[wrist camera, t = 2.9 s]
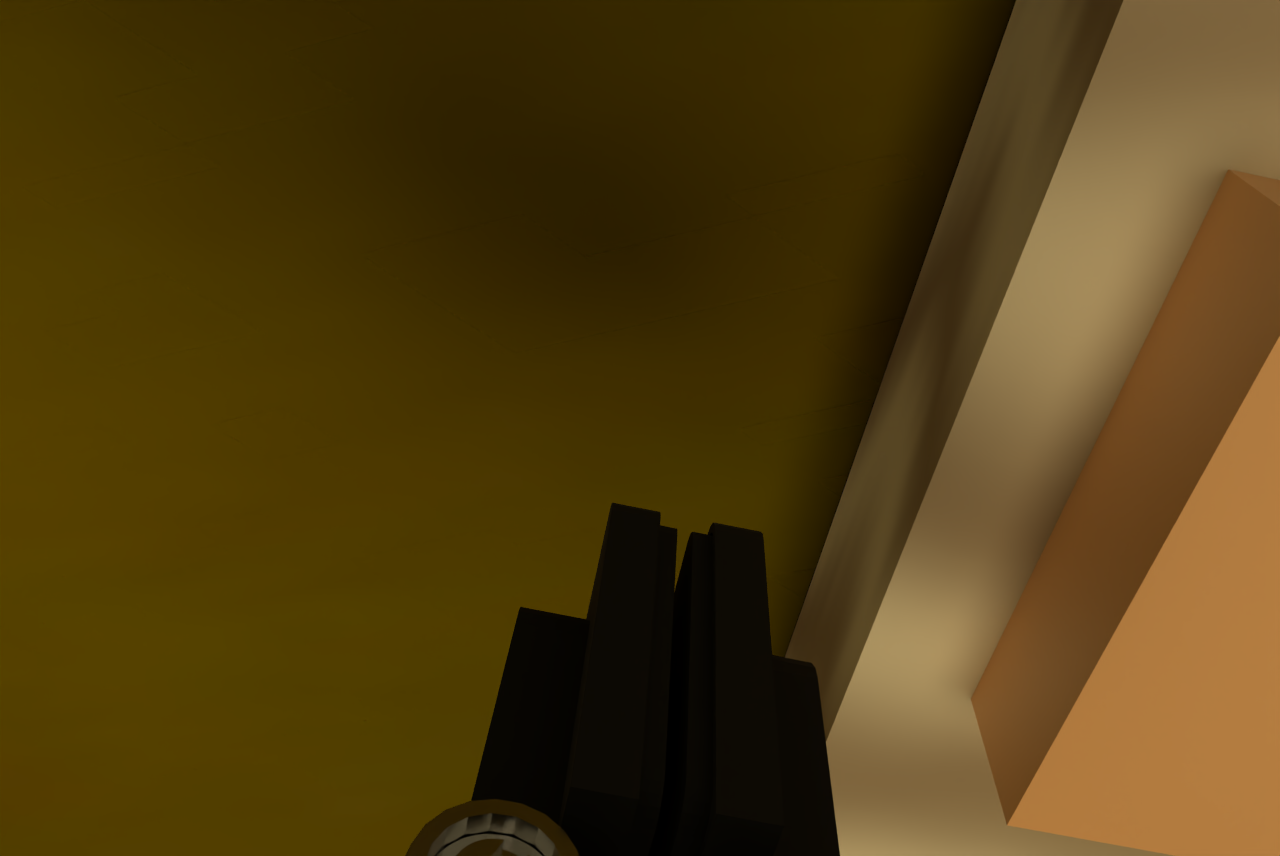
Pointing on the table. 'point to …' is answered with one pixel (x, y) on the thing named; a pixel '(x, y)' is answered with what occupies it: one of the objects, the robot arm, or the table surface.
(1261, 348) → the orange rectangular block
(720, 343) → the table surface
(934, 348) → the beige brown rectangular block
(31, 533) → the table surface
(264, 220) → the table surface
